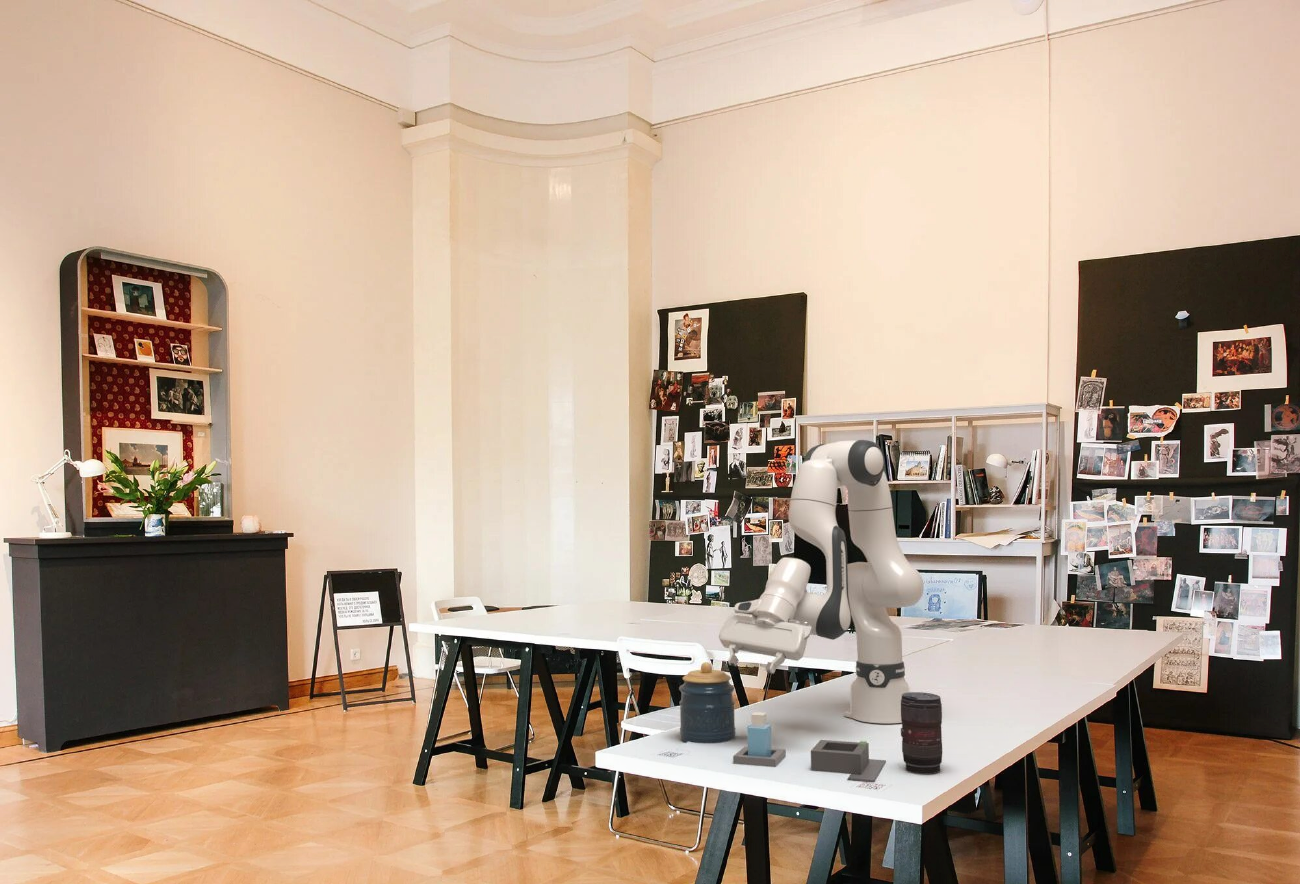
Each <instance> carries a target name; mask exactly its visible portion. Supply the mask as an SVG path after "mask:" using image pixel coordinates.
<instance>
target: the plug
mask: <svg viewBox="0 0 1300 884" xmlns="http://www.w3.org/2000/svg"><path fill="white" fill-rule="evenodd" d="M750 716H751V718H750V719H751V721H750V722H751V724H749V726H748V727H747V728H746V729H747V731H746V732H747V733H746V734H747V747H748V756H761V757H771V748H772V728H771V726H772V725H771V724H767V712H759V711H758V712H756V711H754V712H753V713H751V714H750Z"/></svg>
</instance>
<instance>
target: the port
mask: <svg viewBox="0 0 1300 884" xmlns="http://www.w3.org/2000/svg"><path fill="white" fill-rule="evenodd" d="M869 751H870V748H869V742H868V741H867V740H866V739H864V740H863V739H861V740H860V741H859V742H857V741H845V740H844V741H842V740H828V739H820V740H819V741H818V742H817V743H816V744H815V745H814V747H813V748H812V749H811V750H810V771H813V772H822V773H823V772H825V773H835V774H836V773H837V774H845V775H846V774H847V775H848V774H849V777H848V778H847V779H846V781H853V782H866V783H875V781H876V780H877V778H878V777H879V775H880V773H881V771H882V770H883V768H884V766H885V765H886V763H887V760H884V759H876V758H875V759H874V758H870V752H869Z"/></svg>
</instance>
